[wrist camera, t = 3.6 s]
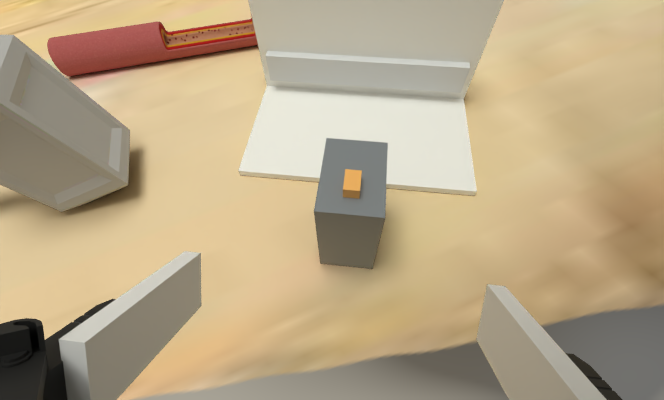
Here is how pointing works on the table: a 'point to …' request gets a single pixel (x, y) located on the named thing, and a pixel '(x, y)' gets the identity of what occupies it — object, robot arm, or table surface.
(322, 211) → the block
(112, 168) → the grey angled piece
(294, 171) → the rail panel
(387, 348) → the table surface
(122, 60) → the blood vessel
